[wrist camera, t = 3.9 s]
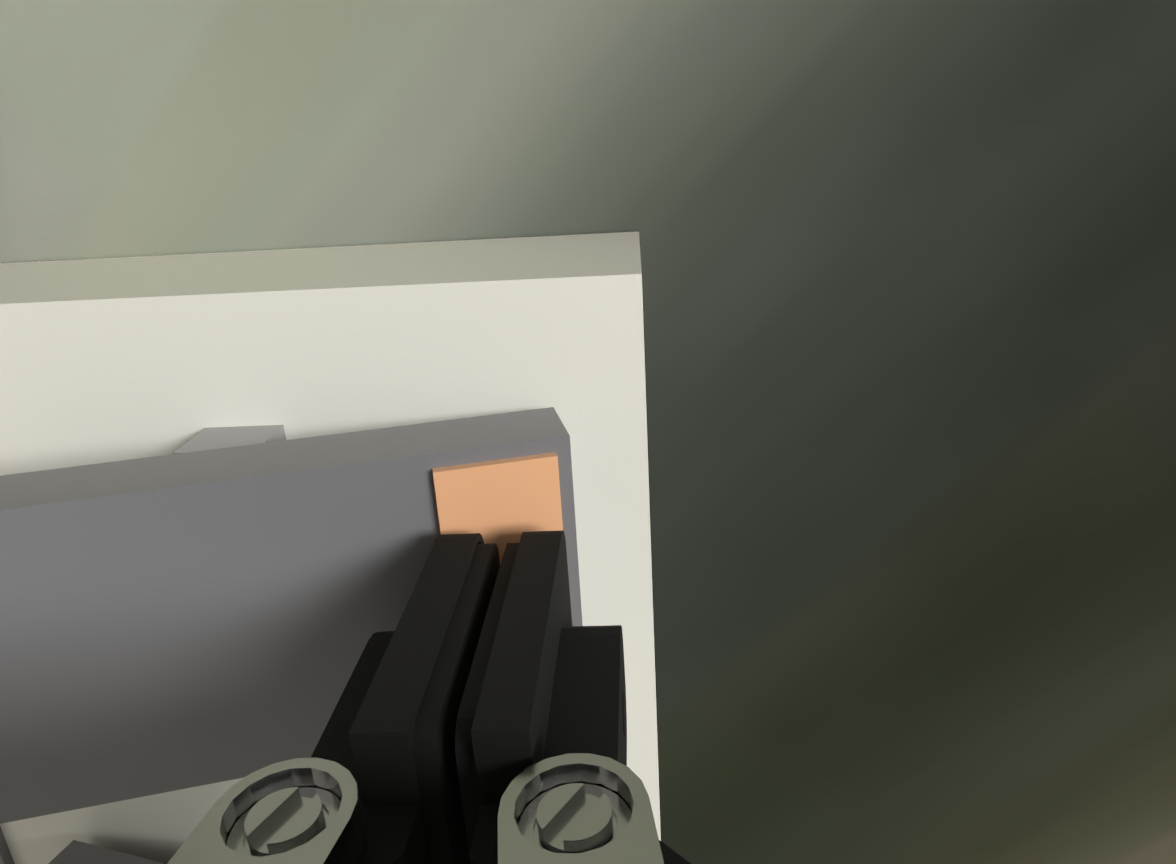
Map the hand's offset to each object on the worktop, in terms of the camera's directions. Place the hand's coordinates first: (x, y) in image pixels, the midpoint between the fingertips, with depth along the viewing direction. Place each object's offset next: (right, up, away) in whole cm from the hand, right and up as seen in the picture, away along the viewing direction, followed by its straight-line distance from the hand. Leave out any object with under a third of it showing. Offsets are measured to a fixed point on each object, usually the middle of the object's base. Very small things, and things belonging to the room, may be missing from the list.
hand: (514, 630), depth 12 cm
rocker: (-4, 0, 0) cm, 4 cm away
